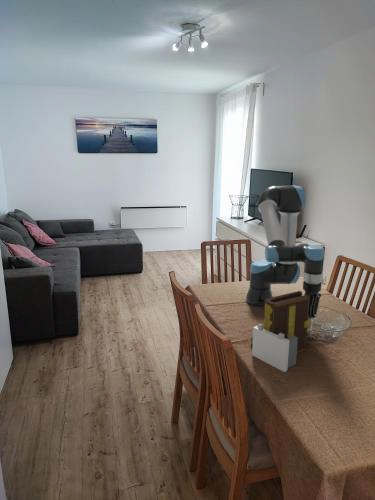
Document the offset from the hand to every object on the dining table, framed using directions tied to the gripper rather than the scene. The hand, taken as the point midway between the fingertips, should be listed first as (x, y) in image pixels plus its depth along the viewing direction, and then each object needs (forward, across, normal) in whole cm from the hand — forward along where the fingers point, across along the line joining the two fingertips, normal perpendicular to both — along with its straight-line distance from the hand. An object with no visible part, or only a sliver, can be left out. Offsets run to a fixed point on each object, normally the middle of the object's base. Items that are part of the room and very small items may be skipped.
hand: (308, 330), depth 164 cm
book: (+5, +16, 0) cm, 17 cm away
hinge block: (+4, +20, -13) cm, 24 cm away
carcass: (+4, +25, 0) cm, 25 cm away
